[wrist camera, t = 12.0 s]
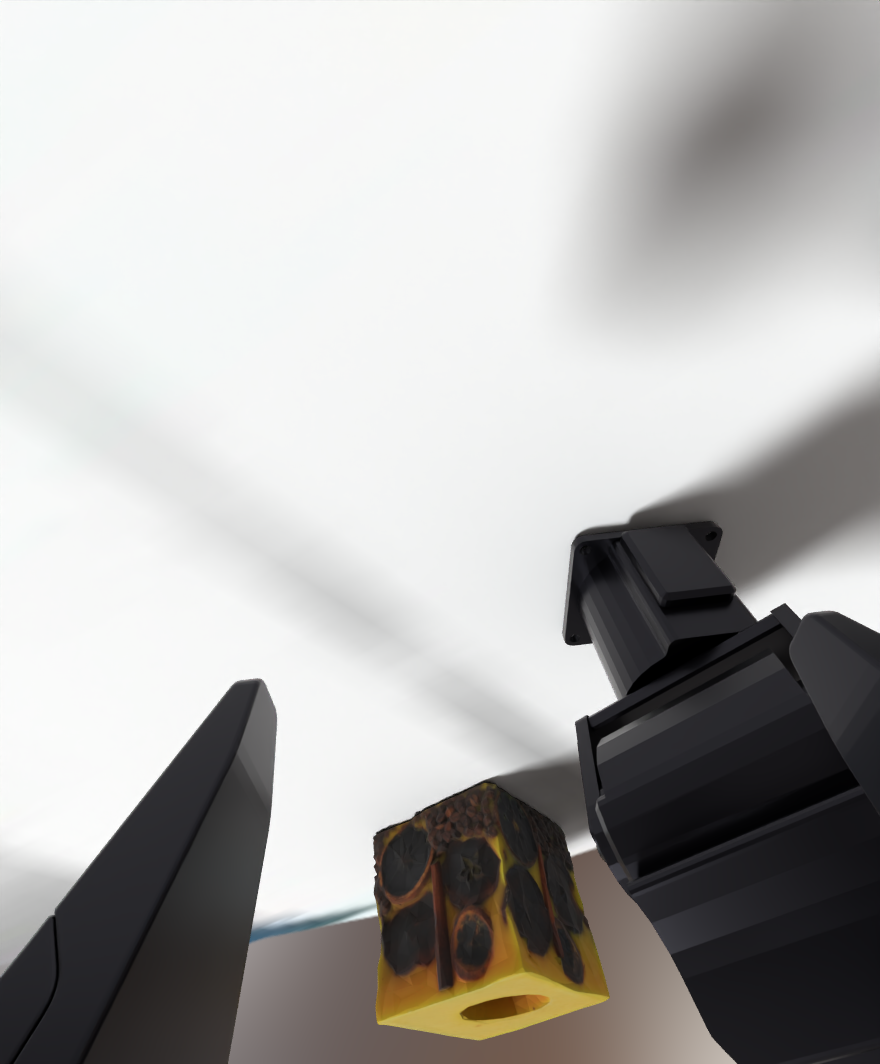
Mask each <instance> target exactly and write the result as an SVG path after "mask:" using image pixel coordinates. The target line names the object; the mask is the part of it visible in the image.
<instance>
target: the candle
mask: <svg viewBox="0 0 880 1064" xmlns="http://www.w3.org/2000/svg"><path fill="white" fill-rule="evenodd" d="M373 839H374V842H373V845H374V859H375V861H376V864H375V865H374V868H375V871H376V873H377V875H376V876H375V877H374V878H375V886H374V896H375V899H376V903H377V911H378V917H379V922H380V930H381V956H380V960H379V964H378V992H377V999H376V1016H377V1023H378V1024H379V1025H390V1026H397V1027H402V1028H408V1029H414V1030H420V1031H426V1032H431V1033H437V1034H442V1035H448V1036H454V1037H460V1038H466V1039H473V1040H483V1039H486V1038H490V1037H494V1036H497V1035H501V1034H504V1033H508V1032H512V1031H515V1030H519V1029H522V1028H525V1027H528V1026H531V1025H534V1024H537V1023H539V1022H542V1021H546V1020H549V1019H552V1018H555V1017H558V1016H561V1015H564V1014H567V1013H570V1012H573V1011H576V1010H579V1009H582V1008H585V1007H588V1006H591V1005H594V1004H598V1003H601V1002H604V1001H606V1000H607V999H609V998H610V996H609V992H608V988H607V985H606V981H605V977H604V973H603V970H602V966H601V963H600V959H599V956H598V953H597V949H596V946H595V943H594V940H593V936H592V933H591V931H590V928H589V924H588V920H587V919H586V917H585V916H584V911H583V904H582V901H581V898H580V895H579V893H578V889H577V886H576V882H575V878H574V871H573V864H572V861H571V857H570V852H569V851H568V848H567V844H566V841H565V835H564V833H563V831H562V830H561V828H560V827H559V826H558V825H557V824H555V823H553V822H551V821H550V819H548V818H547V817H545V816H542V815H541V814H540V813H538V812H537V811H536V810H534V809H532V808H530V807H529V806H527V805H525V804H524V803H523V802H521V801H520V800H518V799H516V798H514V797H512V796H511V795H509V794H508V793H507V792H506V791H504V790H503V789H500V788H498V787H497V785H496V784H492V783H483V784H480V785H477V786H474V787H473V788H471V789H469V790H467V791H465V792H463V793H461V794H459V795H456V796H454V797H452V798H449V799H447V800H445V801H443V802H441V803H439V804H436V805H434V806H432V807H430V808H428V809H426V810H424V811H423V812H422V813H420V814H418V815H416V816H414V817H413V818H412V820H411V821H408V822H405V823H403V824H400V825H397V826H395V827H392V828H390V829H387V830H384V831H382V832H380V833H378V834H377V835H375V836H374V837H373Z"/></svg>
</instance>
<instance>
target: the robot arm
mask: <svg viewBox="0 0 880 1064" xmlns="http://www.w3.org/2000/svg"><path fill="white" fill-rule="evenodd" d="M709 532H711V533H709ZM722 532H723V531H722V529H721V528H720V527H719V526H718V525H717V524H716V523H715V522H711V521H708V522H699V523H690V524H681V525H672V526H663V527H654V528H645V529H636V530H627V531H618V532H609V533H600V534H591V535H583V536H580V537H578V538H576V539H575V540H574V541H573V542H572V545H571V554H570V564H569V573H568V583H567V593H566V603H565V613H564V623H563V632H562V634H563V638H564V641H565V643H566V644H568V645H582V644H591V643H593V645H594V647H595V649H596V651H597V654H598V656H599V658H600V660H601V663H602V665H603V667H604V670H605V672H606V674H607V676H608V679H609V681H610V683H611V686H612V688H613V690H614V692H615V695H616V697H617V699H618V701H616V702H614V703H613V704H611V705H609V706H607V707H606V708H604V709H602V710H600V711H598V712H597V713H595V714H593V715H591V716H590V717H589V716H588V715H586V716H585V717H583V718H581V719H579V720H578V721H576V722H575V726H576V733H577V740H578V743H577V744H578V751H579V758H580V766H581V773H582V780H583V787H584V794H585V801H586V808H587V815H588V822H589V829H590V833H591V835H592V838H593V839H594V841H595V843H596V845H597V850H598V852H599V854H600V856H601V858H602V859H603V860H604V861H605V862H606V863H607V864H608V866H609V868H610V870H611V871H612V873H613V875H614V876H615V878H616V879H617V881H618V882H619V884H620V885H621V886H622V888H623V889H624V890H625V892H626V893H627V894H628V895H629V896H630V897H631V898H632V899H633V900H634V901H635V902H636V903H637V904H638V906H639V907H640V908H641V910H642V911H643V912H644V914H645V915H646V916H647V918H648V919H649V920H650V922H651V923H652V925H653V927H654V928H655V930H656V931H657V933H658V935H659V936H660V938H661V940H662V941H663V943H664V945H665V946H666V948H667V950H668V951H669V953H670V955H671V957H672V959H673V960H674V962H675V964H676V966H677V968H678V970H679V972H680V974H681V976H682V978H683V980H684V982H685V984H686V986H687V988H688V990H689V992H690V994H691V996H692V998H693V1000H694V1002H695V1004H696V1006H697V1008H698V1010H699V1013H700V1015H701V1017H702V1019H703V1021H704V1023H705V1025H706V1027H707V1029H708V1031H709V1033H710V1034H711V1036H712V1037H713V1039H714V1040H715V1041H716V1042H717V1043H718V1044H719V1045H720V1046H721V1047H722V1048H723V1049H724V1050H725V1052H726V1053H727V1054H729V1056H730V1057H731V1058H732V1059H733V1060H734V1061H735V1062H736V1063H737V1064H880V633H878V632H876V631H874V630H872V629H870V628H868V627H866V626H864V625H862V624H860V623H858V622H856V621H854V620H852V619H850V618H848V617H846V616H844V615H842V614H840V613H838V612H835V611H821V612H813V613H808V614H807V615H805V616H804V617H803V619H802V620H801V619H800V618H799V617H798V616H797V615H796V614H795V613H794V612H793V611H792V610H791V609H790V608H789V607H788V606H787V605H786V604H785V603H784V604H782V605H781V606H779V607H777V608H775V609H774V610H772V611H770V612H771V613H772V614H770V615H769V616H767V617H765V618H763V619H762V620H760V621H757V620H756V618H755V617H754V616H753V615H752V614H751V612H750V611H749V610H748V609H747V607H746V606H745V605H744V604H743V602H742V601H741V600H740V599H739V598H738V596H737V595H736V594H735V592H736V587H735V586H734V585H733V583H732V582H731V581H730V580H729V579H728V577H727V576H726V575H725V574H724V573H723V571H722V570H721V569H720V568H719V567H718V565H717V564H716V563H715V562H714V560H715V557H716V553H717V550H718V547H719V544H720V541H721V537H722ZM708 533H709V534H708ZM706 534H708V535H706ZM586 545H587V547H586V548H585V549H581V548H582V547H583V546H586ZM573 635H574V636H573ZM276 731H277V713H276V709H275V706H274V704H273V701H272V699H271V696H270V694H269V692H268V689H267V687H266V684H265V683H264V681H263V680H262V679H258V678H256V679H248V680H240V681H237V682H235V683H234V684H233V685H232V686H231V687H230V689H229V690H228V691H227V692H226V694H225V695H224V696H223V697H222V699H221V700H220V701H219V702H218V704H217V705H216V706H215V708H214V709H213V710H212V711H211V713H210V714H209V715H208V716H207V718H206V719H205V720H204V721H203V723H202V724H201V725H200V726H199V728H198V729H197V730H196V732H195V733H194V734H193V735H192V737H191V738H190V739H189V740H188V742H187V743H186V744H185V745H184V747H183V748H182V749H181V750H180V752H179V753H178V754H177V756H176V757H175V758H174V759H173V761H172V762H171V763H170V764H169V766H168V767H167V768H166V769H165V771H164V772H163V773H162V774H161V776H160V777H159V778H158V779H157V781H156V782H155V783H154V785H153V786H152V787H151V788H150V790H149V791H148V792H147V793H146V795H145V796H144V797H143V798H142V800H141V801H140V802H139V803H138V805H137V806H136V807H135V809H134V810H133V811H132V812H131V814H130V815H129V816H128V817H127V819H126V820H125V821H124V822H123V824H122V825H121V826H120V827H119V829H118V830H117V831H116V833H115V834H114V835H113V836H112V838H111V839H110V840H109V841H108V843H107V844H106V845H105V846H104V848H103V849H102V850H101V851H100V853H99V854H98V855H97V856H96V858H95V859H94V860H93V862H92V863H91V864H90V865H89V867H88V868H87V869H86V870H85V872H84V873H83V874H82V875H81V877H80V878H79V879H78V880H77V882H76V883H75V884H74V886H73V887H72V888H71V889H70V891H69V892H68V893H67V894H66V896H65V897H64V898H63V899H62V901H61V902H60V903H59V904H58V906H57V907H56V908H55V912H54V914H55V915H51V916H49V917H48V918H47V919H46V921H45V922H44V923H43V924H42V926H41V927H40V928H39V929H38V931H37V932H36V933H35V934H34V936H33V937H32V938H31V939H30V941H29V942H28V943H27V945H26V946H25V947H24V948H23V950H22V951H21V952H20V953H19V954H18V956H17V957H16V958H15V959H14V961H13V962H12V963H11V964H10V965H9V967H8V968H7V969H6V970H5V971H4V973H3V974H2V975H1V976H0V1064H228V1060H229V1054H230V1049H231V1043H232V1037H233V1032H234V1026H235V1020H236V1014H237V1008H238V1003H239V997H240V992H241V986H242V980H243V974H244V968H245V963H246V957H247V951H248V946H249V940H250V934H251V929H252V923H253V917H254V912H255V906H256V900H257V894H258V889H259V883H260V877H261V872H262V866H263V860H264V855H265V849H266V843H267V837H268V831H269V825H270V818H271V807H272V793H273V778H274V762H275V747H276Z"/></svg>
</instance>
